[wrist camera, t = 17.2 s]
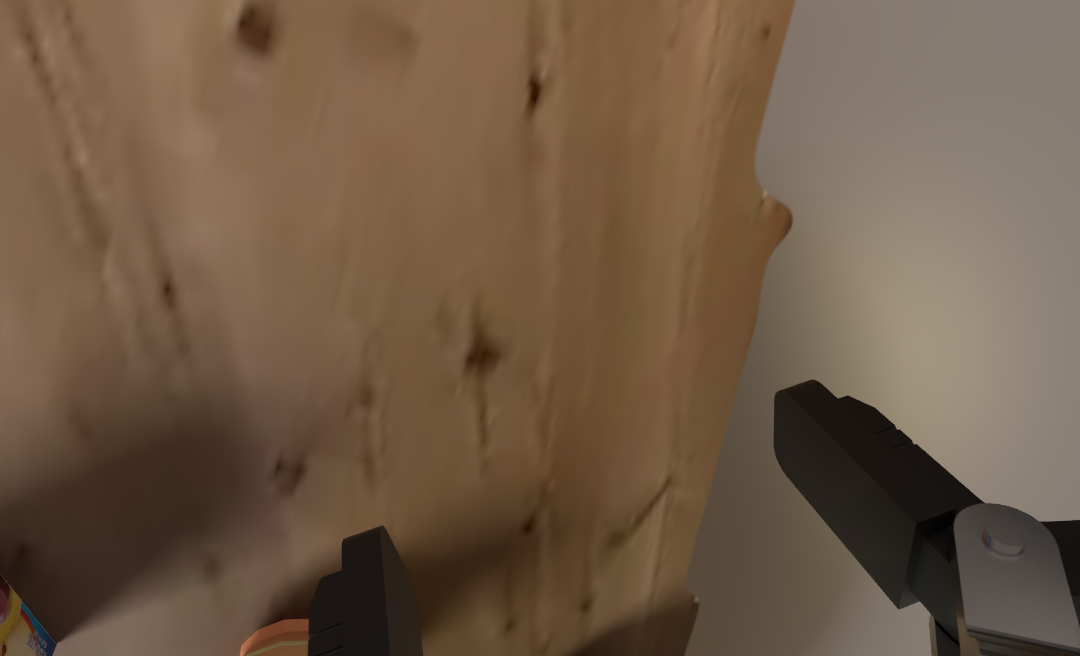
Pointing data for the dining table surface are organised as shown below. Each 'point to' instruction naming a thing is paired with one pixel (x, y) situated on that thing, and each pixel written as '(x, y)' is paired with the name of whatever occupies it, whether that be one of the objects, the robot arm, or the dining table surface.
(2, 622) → the juice carton
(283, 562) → the dining table surface
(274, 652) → the potted cactus
